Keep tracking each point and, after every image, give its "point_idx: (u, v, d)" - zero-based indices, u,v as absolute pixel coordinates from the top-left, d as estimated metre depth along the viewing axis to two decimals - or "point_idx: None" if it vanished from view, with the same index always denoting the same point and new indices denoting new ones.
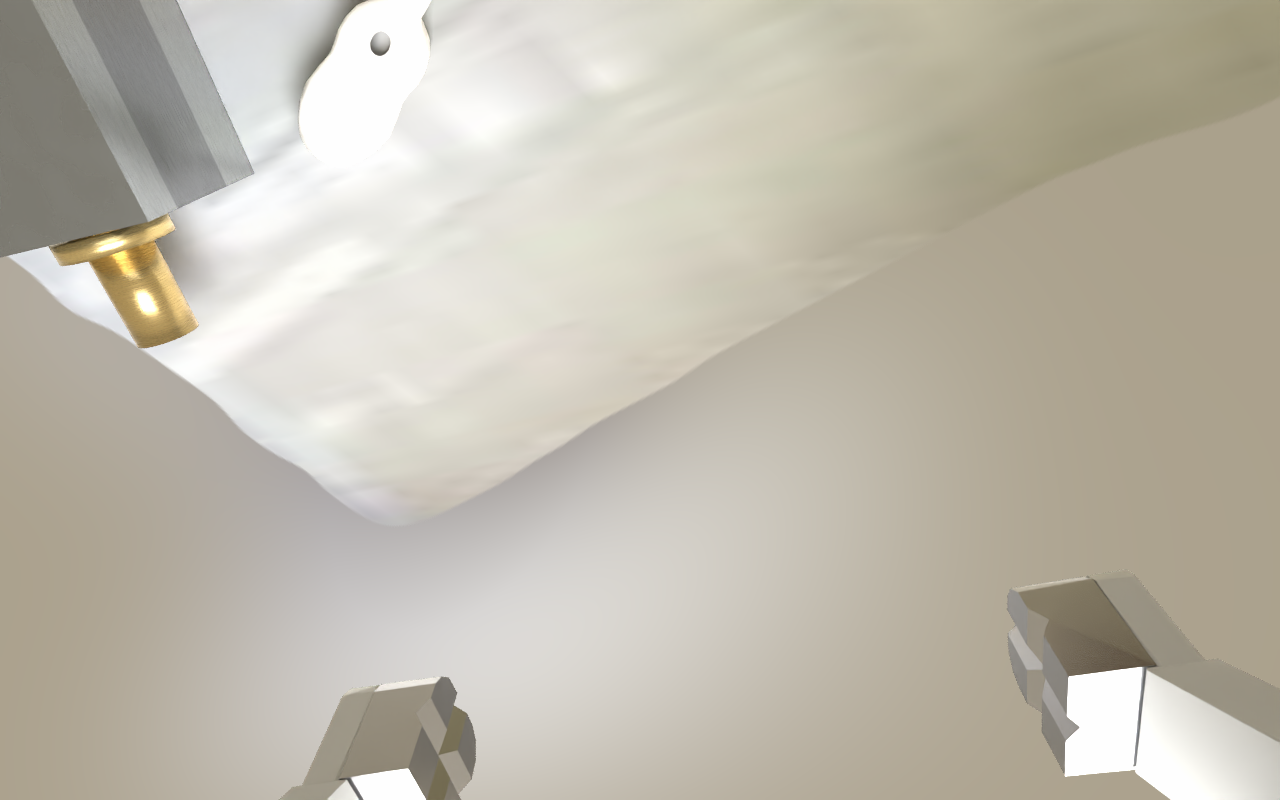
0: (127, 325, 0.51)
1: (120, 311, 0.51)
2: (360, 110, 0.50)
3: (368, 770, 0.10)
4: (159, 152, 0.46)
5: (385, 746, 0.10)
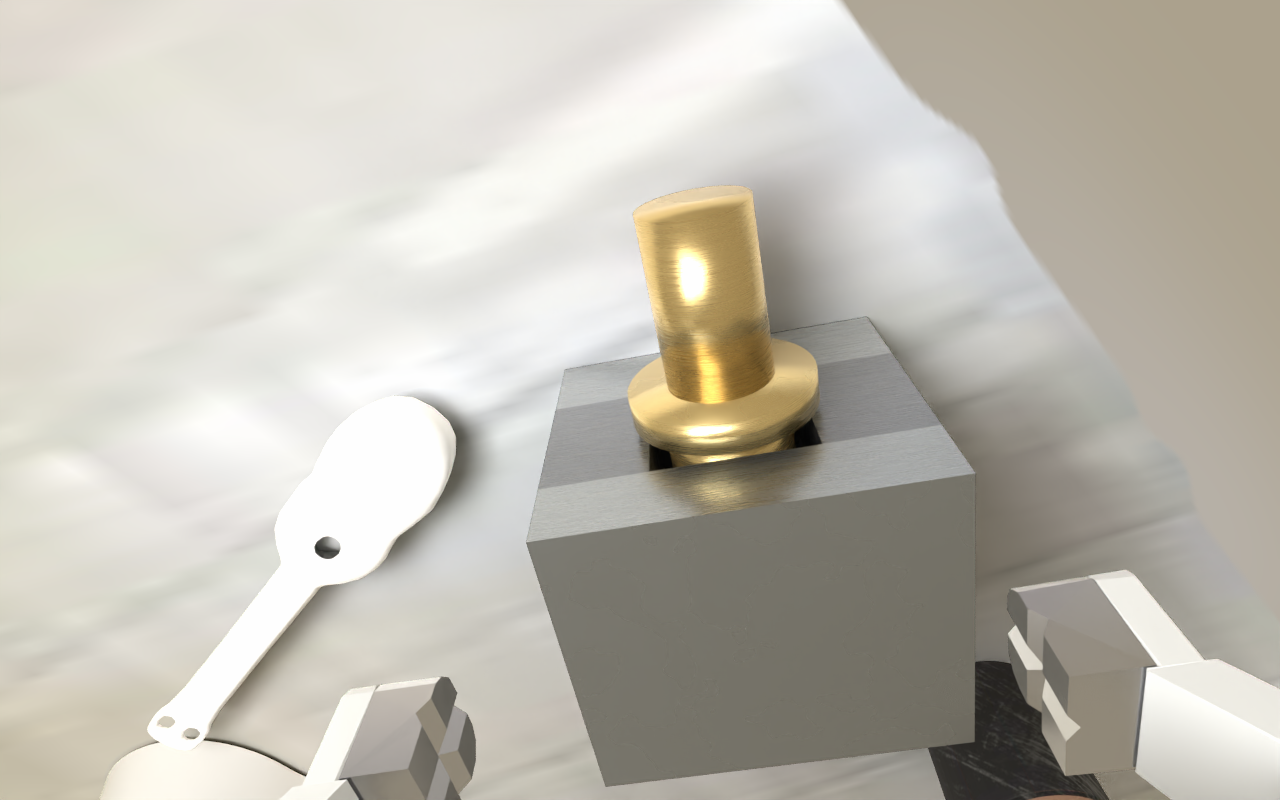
0: (735, 260, 0.25)
1: (736, 291, 0.25)
2: (355, 481, 0.36)
3: (368, 770, 0.10)
4: None
5: (385, 746, 0.10)
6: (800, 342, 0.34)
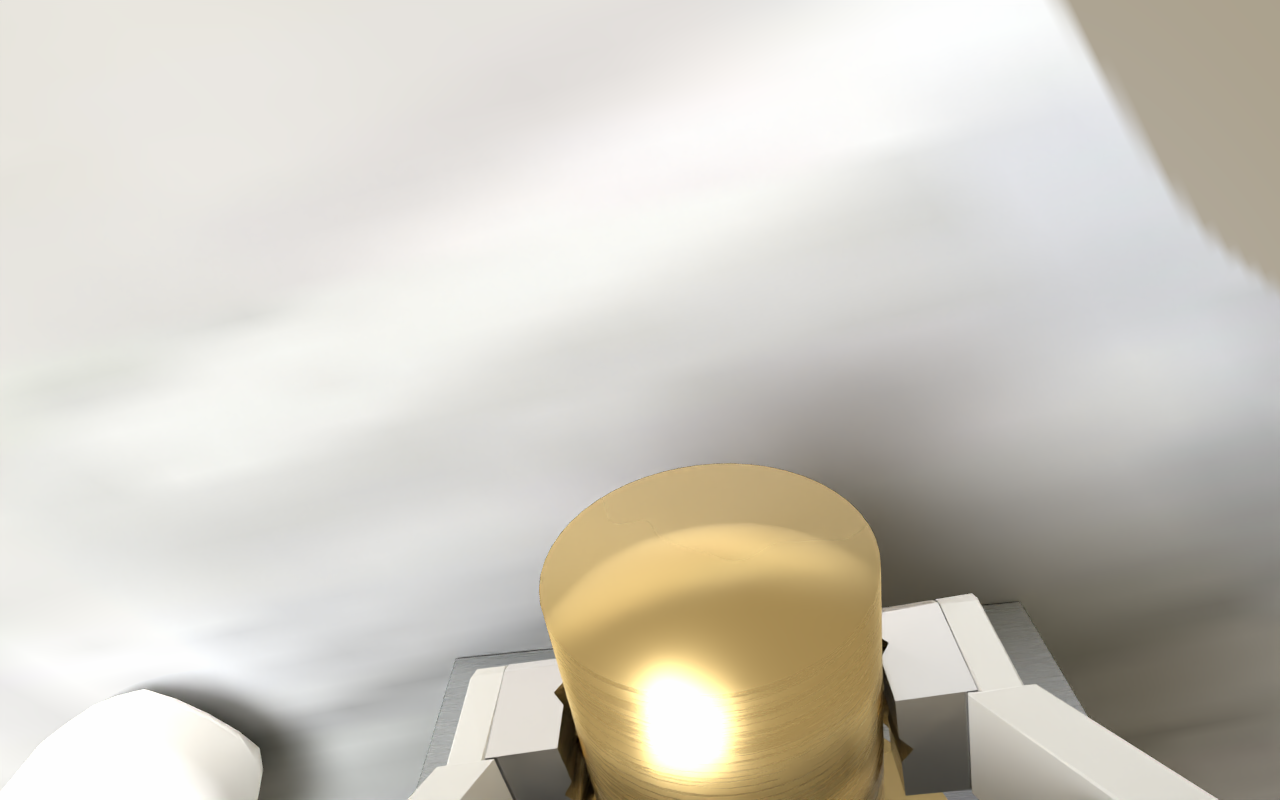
0: (827, 769, 0.08)
1: None
2: None
3: (514, 750, 0.10)
4: None
5: (528, 726, 0.10)
6: None
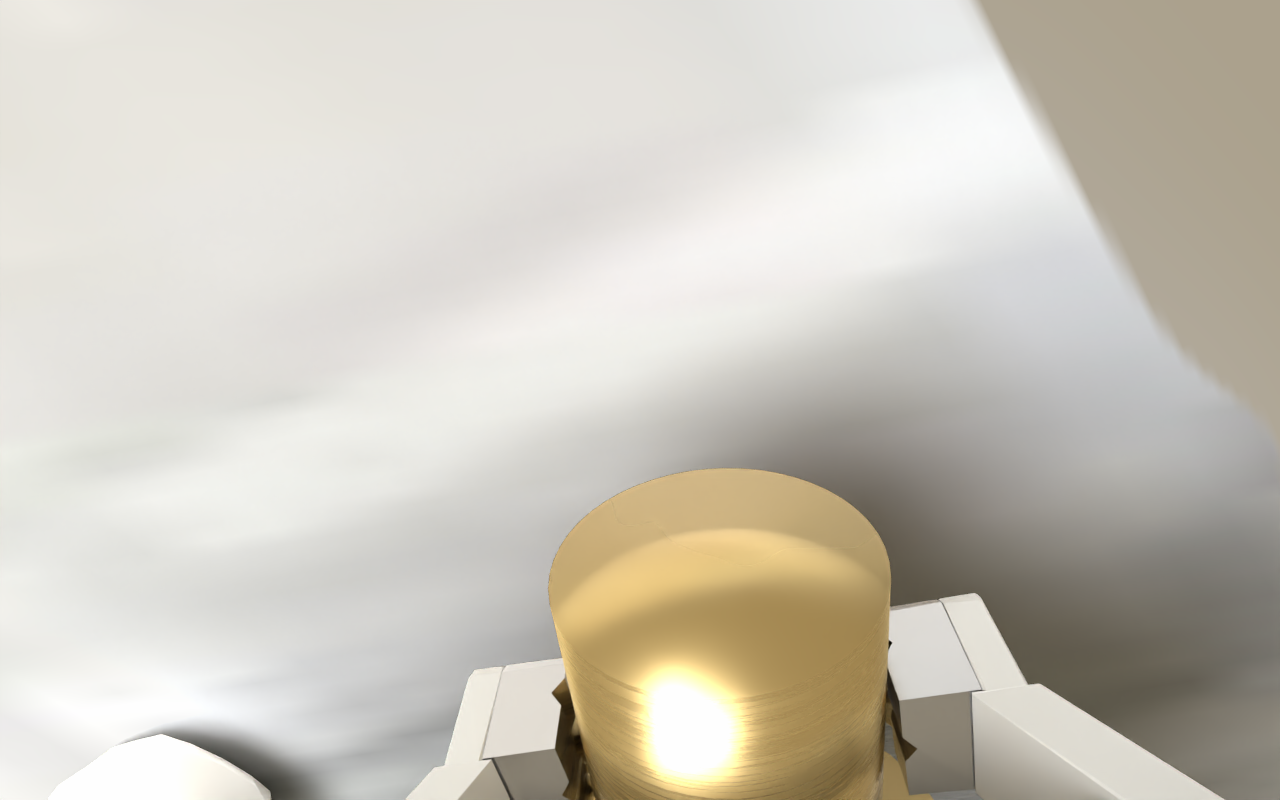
0: (833, 775, 0.08)
1: None
2: None
3: (511, 750, 0.10)
4: None
5: (526, 726, 0.10)
6: (887, 734, 0.19)
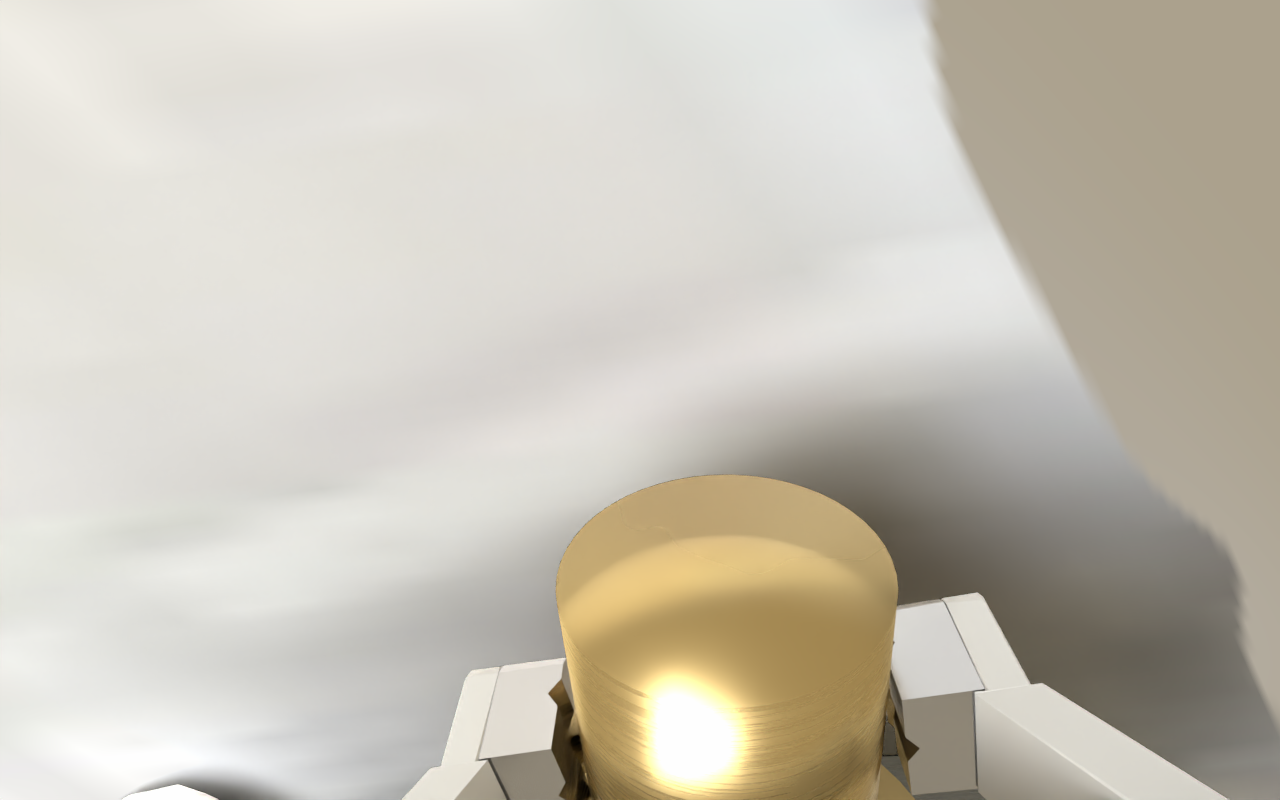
0: (834, 785, 0.08)
1: None
2: None
3: (508, 750, 0.10)
4: None
5: (522, 726, 0.10)
6: None
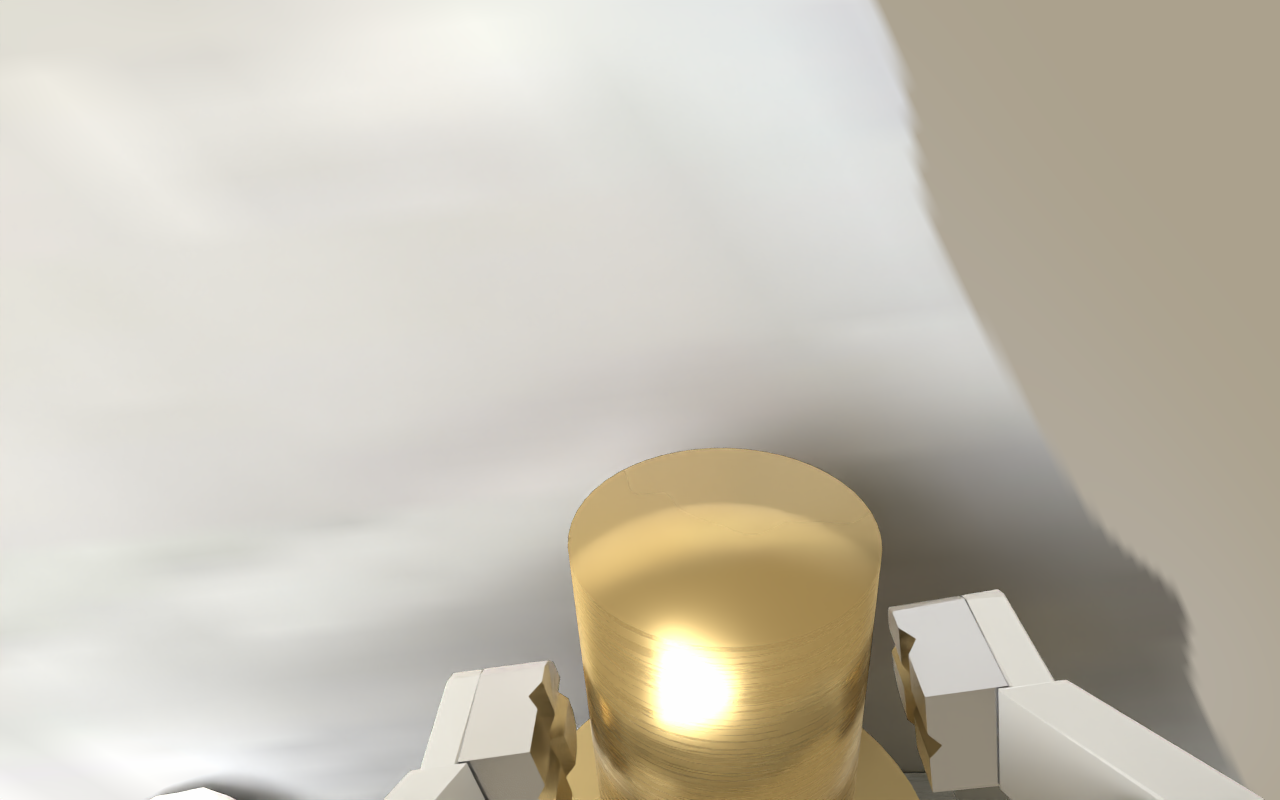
0: (820, 726, 0.09)
1: (807, 786, 0.10)
2: None
3: (487, 753, 0.10)
4: None
5: (502, 729, 0.10)
6: None
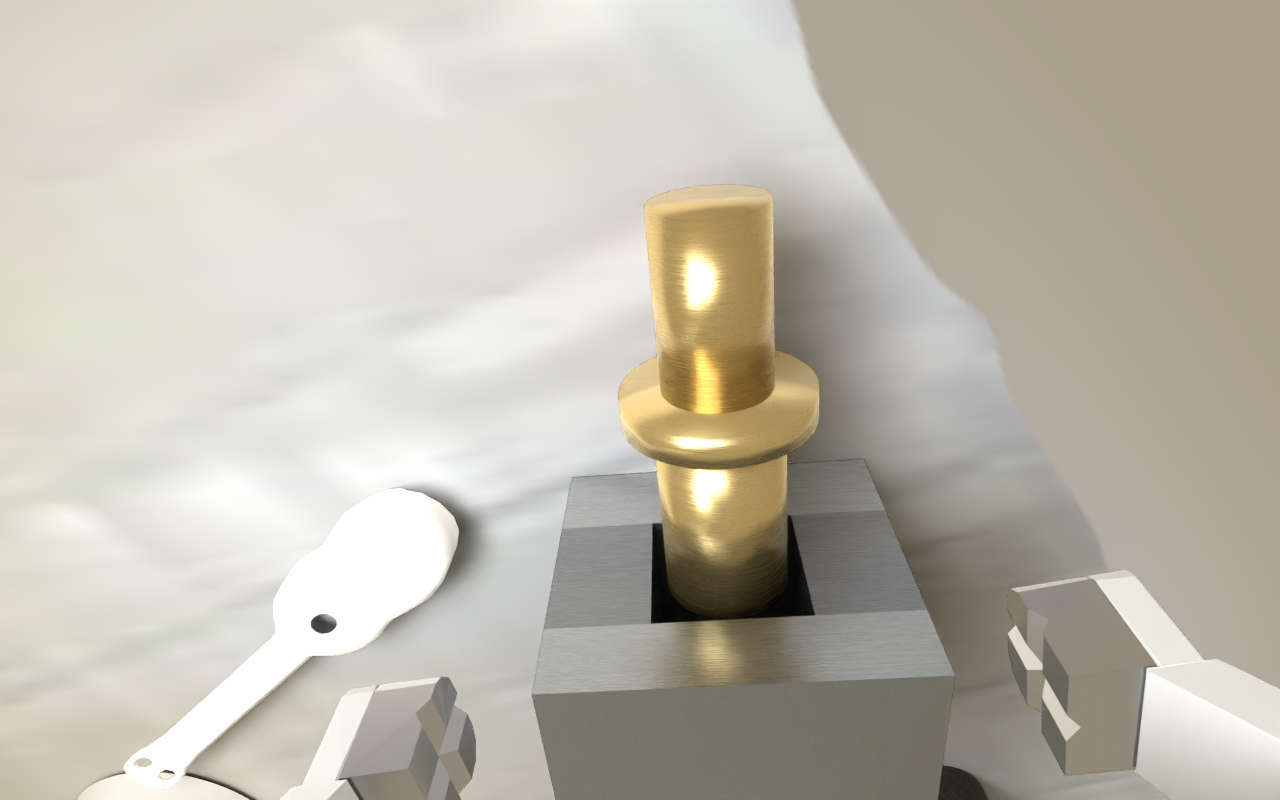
0: (748, 267, 0.23)
1: (745, 300, 0.24)
2: (358, 568, 0.37)
3: (368, 770, 0.10)
4: None
5: (385, 746, 0.10)
6: (799, 481, 0.35)
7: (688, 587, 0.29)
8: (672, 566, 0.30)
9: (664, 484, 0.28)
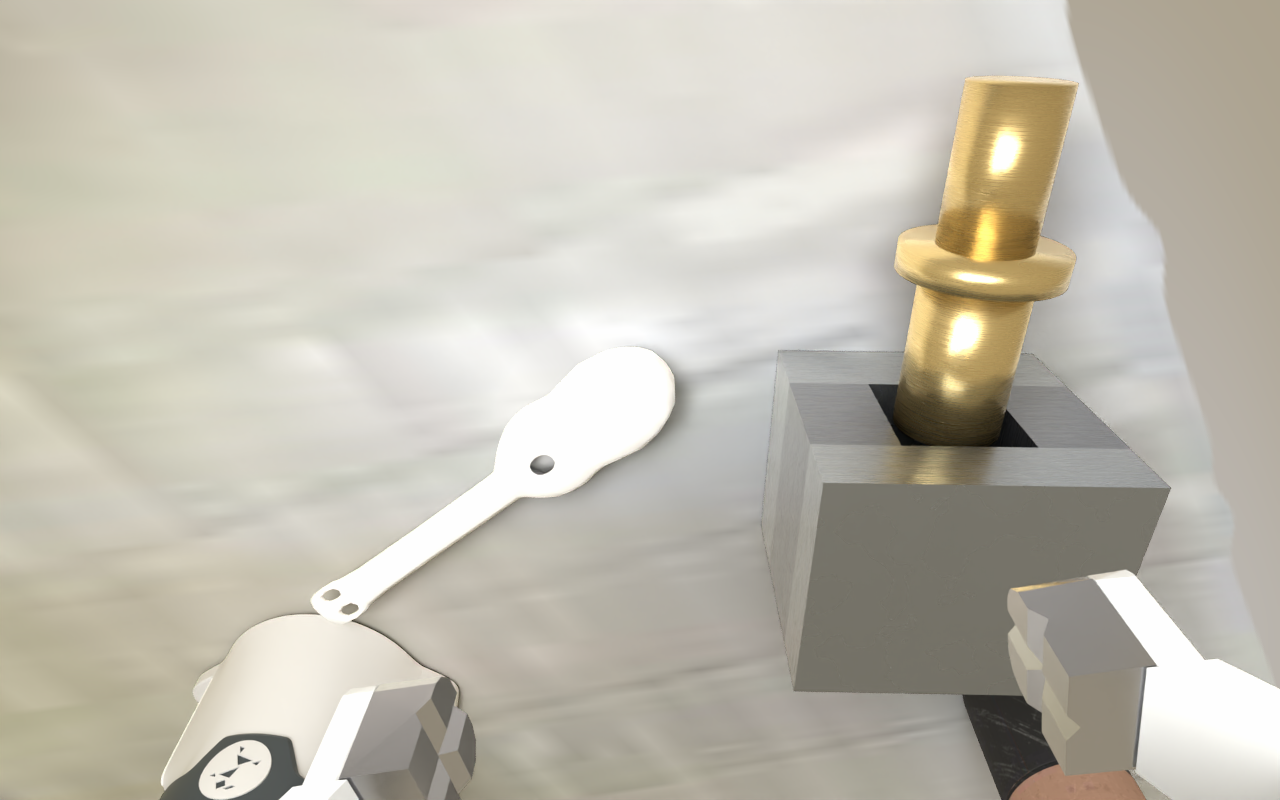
0: (1057, 134, 0.29)
1: (1047, 162, 0.29)
2: (589, 413, 0.42)
3: (368, 770, 0.10)
4: (799, 492, 0.36)
5: (385, 746, 0.10)
6: None
7: (929, 420, 0.35)
8: (913, 403, 0.35)
9: (928, 327, 0.33)
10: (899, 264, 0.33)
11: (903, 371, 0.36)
